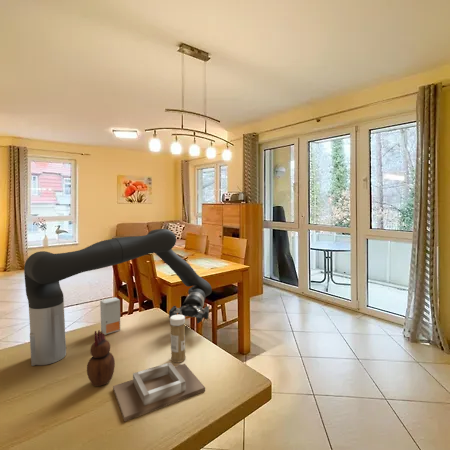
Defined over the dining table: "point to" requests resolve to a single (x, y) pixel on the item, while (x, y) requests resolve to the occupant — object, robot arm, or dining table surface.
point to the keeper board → (156, 389)
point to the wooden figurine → (100, 361)
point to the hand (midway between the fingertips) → (185, 320)
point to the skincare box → (110, 315)
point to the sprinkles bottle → (177, 338)
